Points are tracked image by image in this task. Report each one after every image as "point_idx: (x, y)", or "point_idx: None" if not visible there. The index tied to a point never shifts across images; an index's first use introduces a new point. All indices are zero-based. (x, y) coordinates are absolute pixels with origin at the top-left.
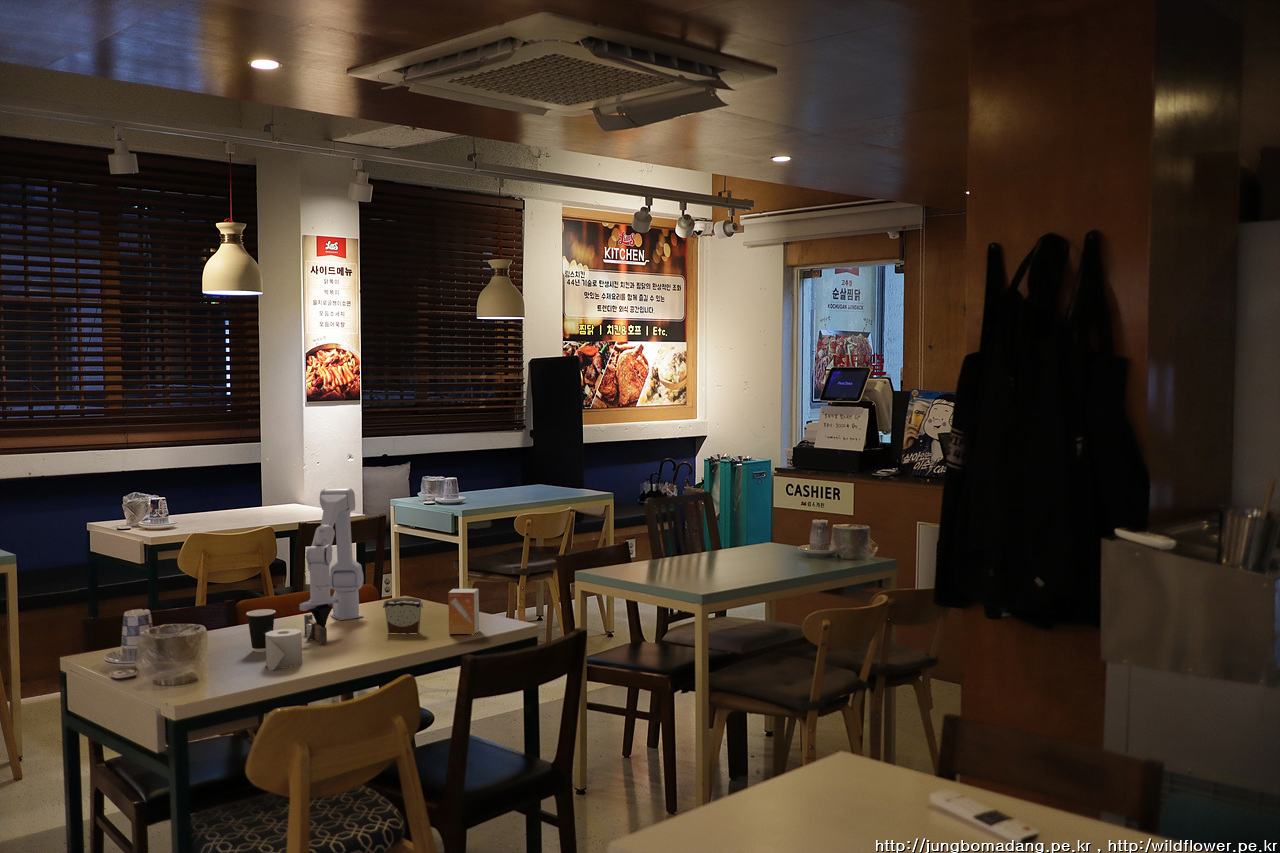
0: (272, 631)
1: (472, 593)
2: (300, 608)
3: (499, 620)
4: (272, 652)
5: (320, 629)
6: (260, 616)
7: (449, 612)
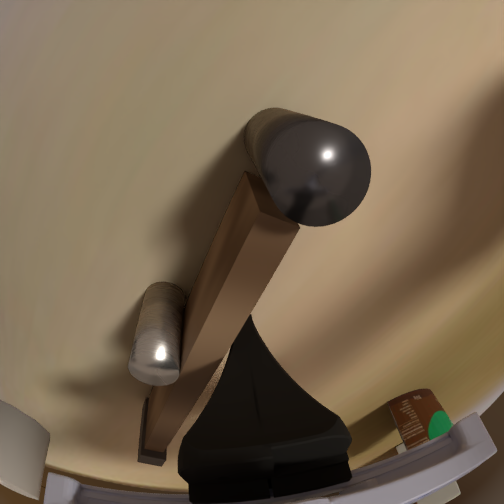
0: None
1: None
2: (52, 489)
3: (496, 395)
4: None
5: (138, 454)
6: None
7: None
